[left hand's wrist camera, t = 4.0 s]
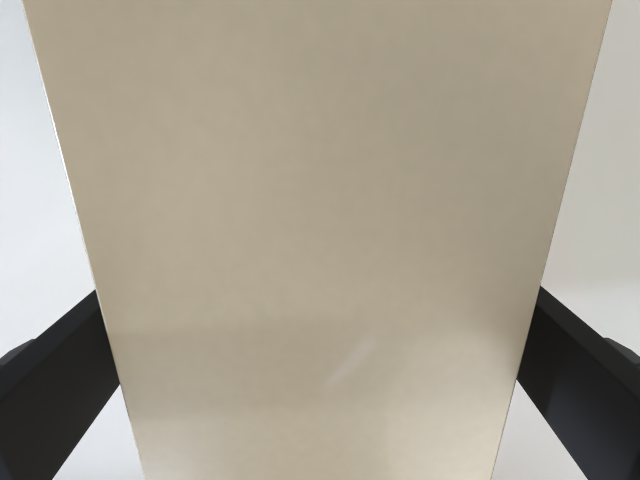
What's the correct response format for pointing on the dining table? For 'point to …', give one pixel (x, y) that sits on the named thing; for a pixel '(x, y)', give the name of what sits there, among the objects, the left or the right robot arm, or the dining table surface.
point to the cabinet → (317, 218)
